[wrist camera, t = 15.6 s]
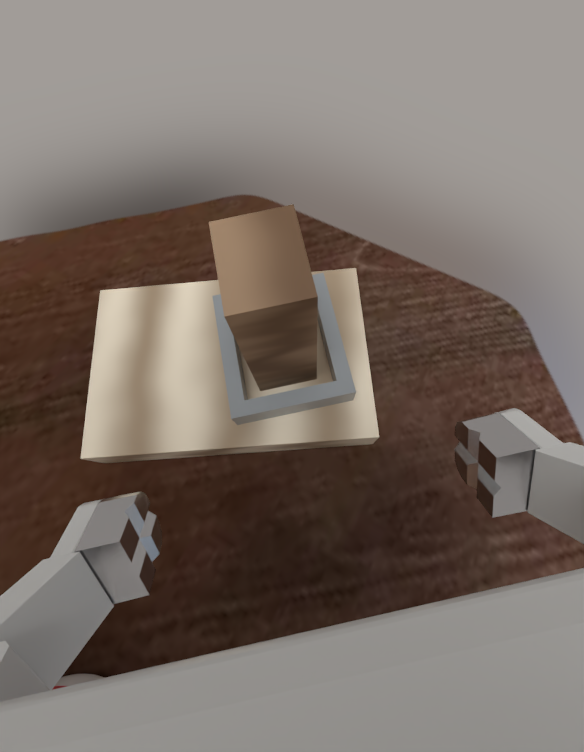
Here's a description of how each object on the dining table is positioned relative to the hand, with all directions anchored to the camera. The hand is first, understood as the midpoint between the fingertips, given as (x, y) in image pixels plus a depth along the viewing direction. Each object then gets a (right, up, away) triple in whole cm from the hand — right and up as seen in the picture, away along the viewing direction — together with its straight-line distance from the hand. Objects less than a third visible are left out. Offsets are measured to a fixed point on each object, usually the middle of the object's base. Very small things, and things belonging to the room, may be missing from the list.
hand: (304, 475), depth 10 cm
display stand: (-5, +3, +20) cm, 21 cm away
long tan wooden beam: (-1, +4, +17) cm, 18 cm away
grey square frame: (-1, +4, +17) cm, 18 cm away
